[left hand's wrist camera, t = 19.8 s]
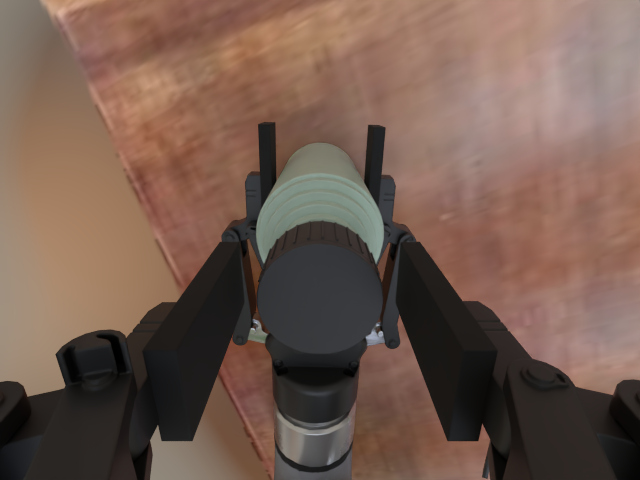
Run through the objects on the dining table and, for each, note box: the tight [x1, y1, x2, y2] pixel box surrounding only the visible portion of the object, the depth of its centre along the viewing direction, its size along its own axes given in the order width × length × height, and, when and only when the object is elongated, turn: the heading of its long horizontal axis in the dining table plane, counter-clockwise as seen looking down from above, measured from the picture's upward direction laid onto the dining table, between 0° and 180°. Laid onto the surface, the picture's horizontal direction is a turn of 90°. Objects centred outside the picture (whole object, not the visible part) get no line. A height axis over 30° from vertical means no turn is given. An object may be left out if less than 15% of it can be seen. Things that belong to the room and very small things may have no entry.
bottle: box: [256, 143, 384, 263], centre depth 22 cm, size 7×7×20 cm
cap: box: [257, 220, 383, 354], centre depth 13 cm, size 4×4×2 cm
